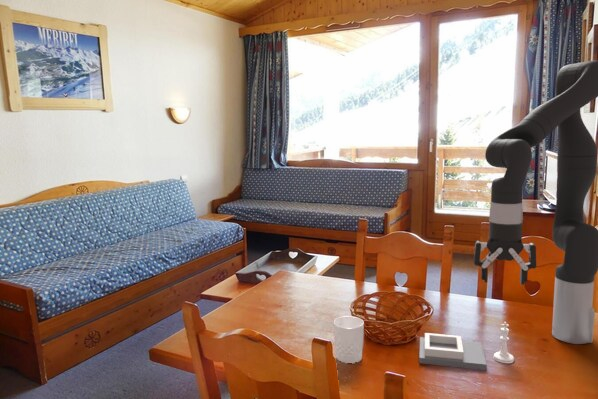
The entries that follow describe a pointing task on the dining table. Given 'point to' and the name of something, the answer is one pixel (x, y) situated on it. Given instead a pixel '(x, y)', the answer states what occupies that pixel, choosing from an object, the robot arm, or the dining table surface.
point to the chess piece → (504, 347)
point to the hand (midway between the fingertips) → (503, 282)
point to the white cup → (348, 338)
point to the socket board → (451, 352)
